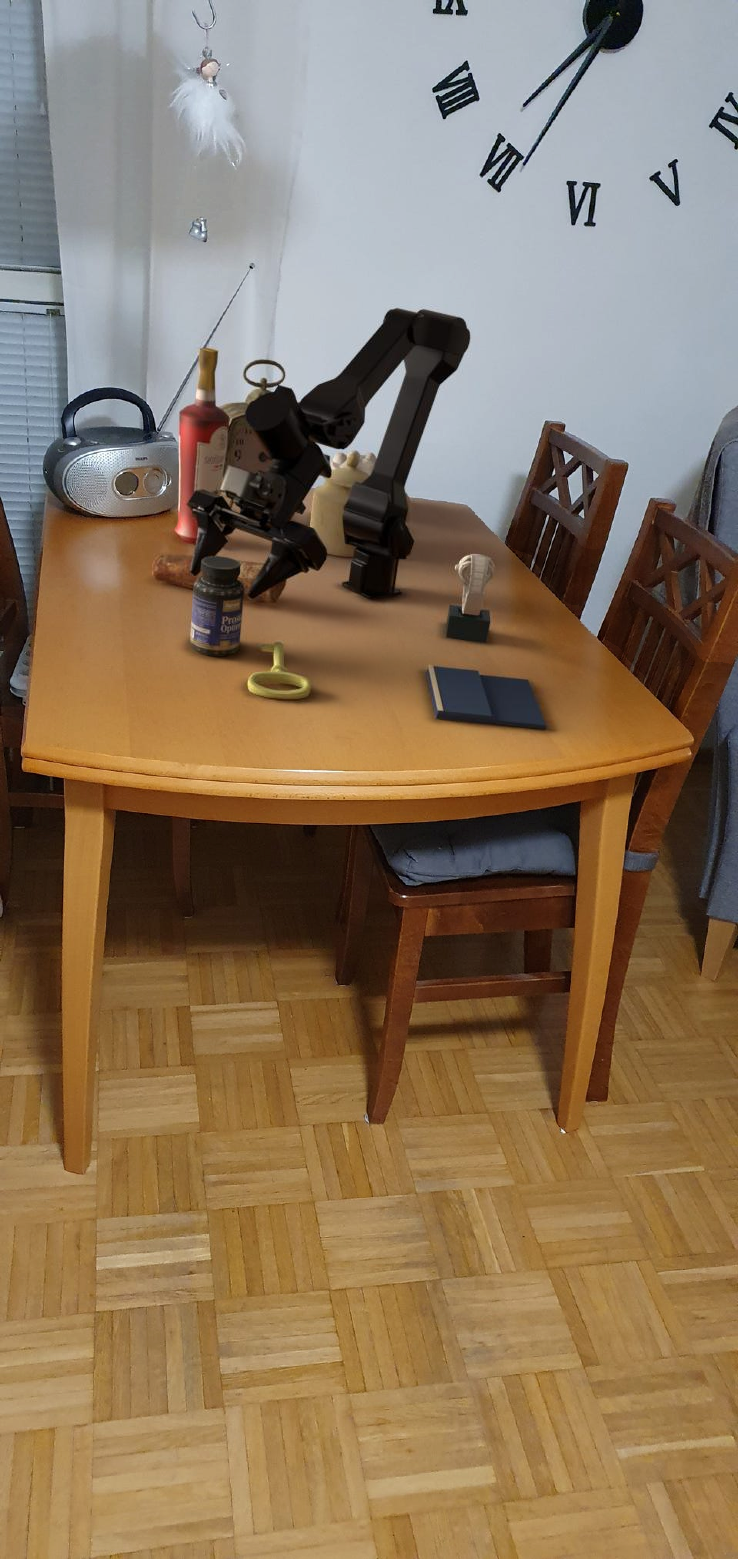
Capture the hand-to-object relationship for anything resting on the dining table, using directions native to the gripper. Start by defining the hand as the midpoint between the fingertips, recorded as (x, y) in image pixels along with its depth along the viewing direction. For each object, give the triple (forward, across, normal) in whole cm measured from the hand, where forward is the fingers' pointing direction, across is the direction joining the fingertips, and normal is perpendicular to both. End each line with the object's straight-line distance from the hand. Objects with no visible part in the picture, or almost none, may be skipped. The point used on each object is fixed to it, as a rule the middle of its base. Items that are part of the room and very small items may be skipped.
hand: (220, 585), depth 144 cm
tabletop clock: (-27, -33, +38) cm, 57 cm away
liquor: (-15, -30, +26) cm, 42 cm away
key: (+7, +11, +5) cm, 14 cm away
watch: (-16, +18, +28) cm, 37 cm away
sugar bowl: (-28, -13, +40) cm, 50 cm away
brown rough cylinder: (-4, -12, +16) cm, 20 cm away
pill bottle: (+6, 0, +6) cm, 8 cm away
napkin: (-4, +31, +16) cm, 35 cm away
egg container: (-47, -27, +48) cm, 72 cm away
